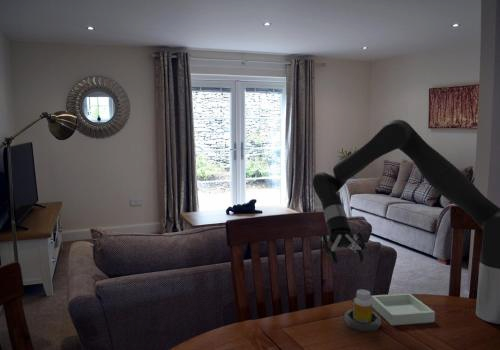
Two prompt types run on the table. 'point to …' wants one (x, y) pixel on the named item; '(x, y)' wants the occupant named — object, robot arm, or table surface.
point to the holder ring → (362, 326)
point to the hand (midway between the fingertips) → (348, 262)
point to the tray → (402, 309)
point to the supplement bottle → (362, 307)
